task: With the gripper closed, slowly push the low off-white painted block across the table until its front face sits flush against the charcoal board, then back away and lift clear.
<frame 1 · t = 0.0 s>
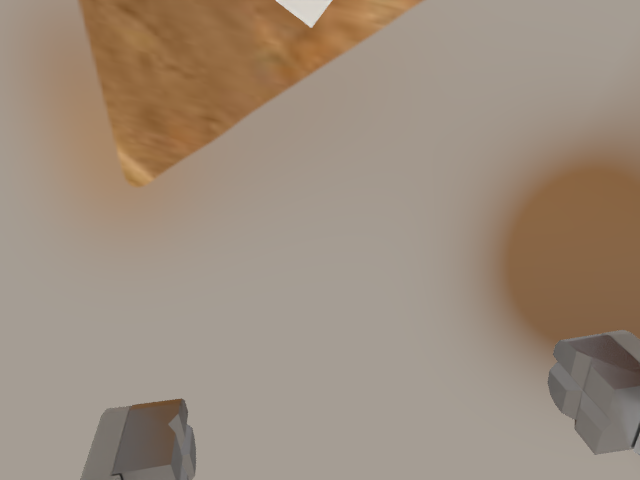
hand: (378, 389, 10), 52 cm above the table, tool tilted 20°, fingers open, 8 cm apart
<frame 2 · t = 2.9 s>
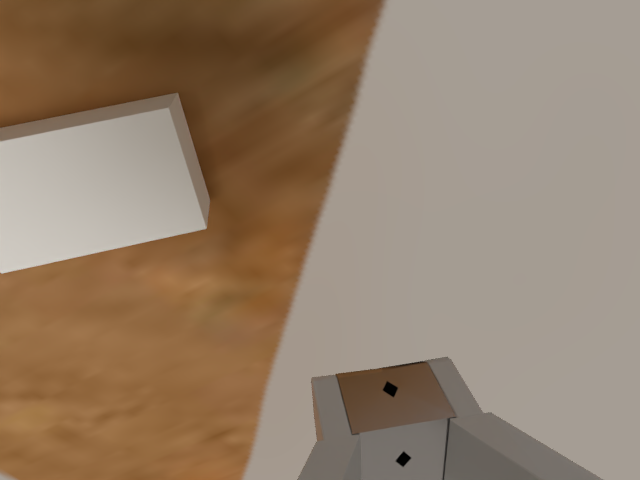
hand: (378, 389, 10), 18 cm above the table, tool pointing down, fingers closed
offwhite block: (102, 167, 25), on the table
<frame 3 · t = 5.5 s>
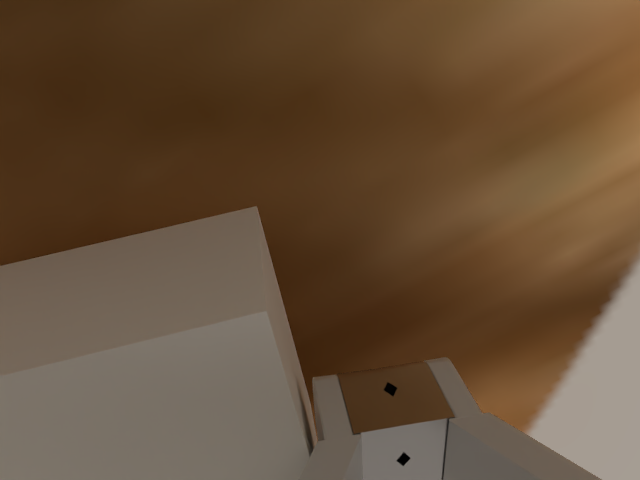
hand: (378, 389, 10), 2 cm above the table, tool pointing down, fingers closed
offwhite block: (83, 363, 11), on the table
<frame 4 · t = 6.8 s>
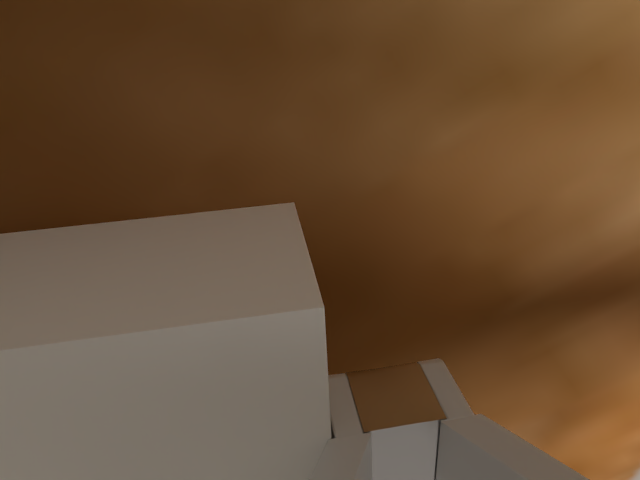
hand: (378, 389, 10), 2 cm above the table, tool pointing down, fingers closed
offwhite block: (93, 342, 11), on the table, touching charcoal board, gripper
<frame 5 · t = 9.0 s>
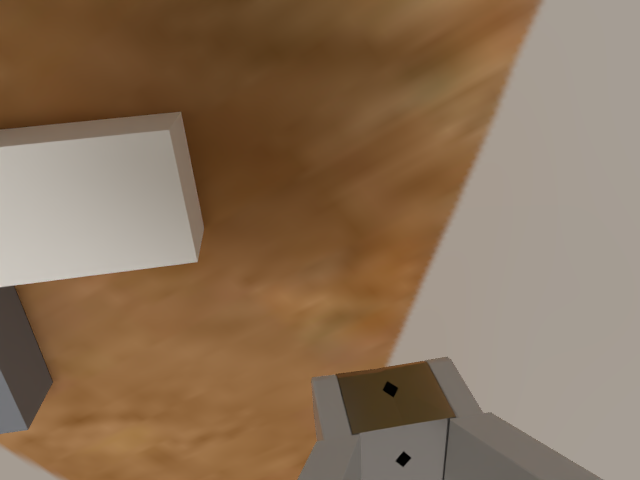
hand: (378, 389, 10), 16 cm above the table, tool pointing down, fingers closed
offwhite block: (90, 182, 23), on the table
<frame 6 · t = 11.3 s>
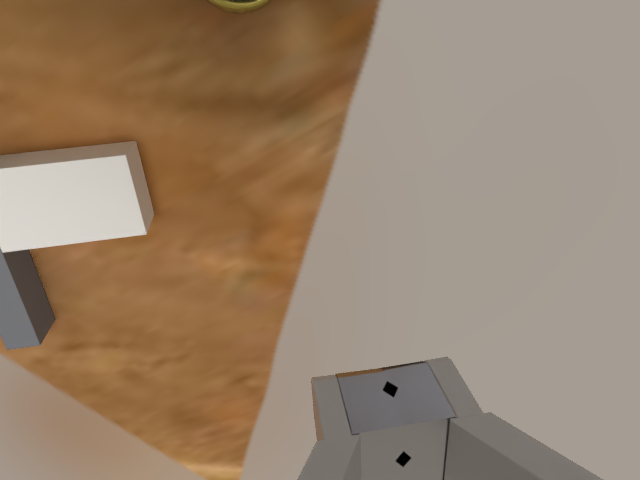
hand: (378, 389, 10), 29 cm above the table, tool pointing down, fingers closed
offwhite block: (79, 185, 36), on the table
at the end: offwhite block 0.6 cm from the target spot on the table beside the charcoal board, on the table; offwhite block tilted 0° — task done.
